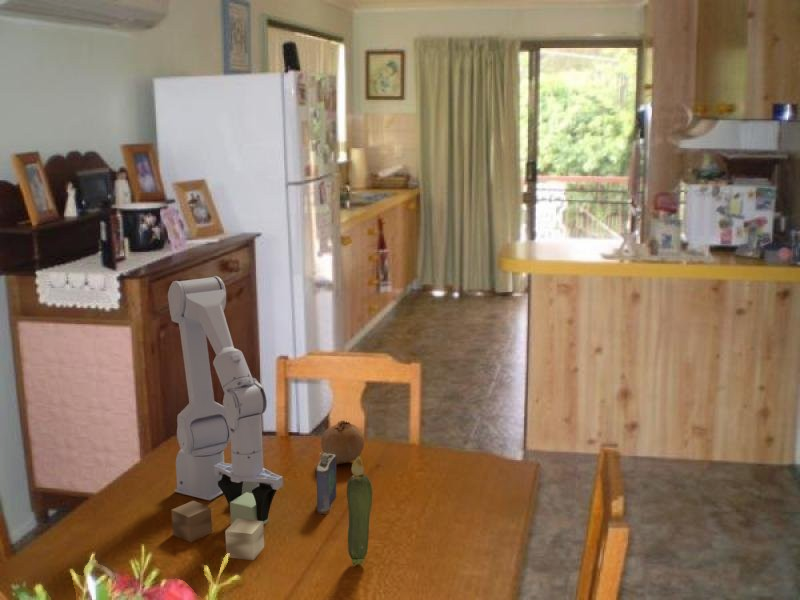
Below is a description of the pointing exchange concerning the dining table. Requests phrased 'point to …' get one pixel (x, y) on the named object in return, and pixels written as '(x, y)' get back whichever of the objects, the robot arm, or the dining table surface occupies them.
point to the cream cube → (245, 539)
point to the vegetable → (358, 512)
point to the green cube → (244, 508)
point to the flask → (326, 482)
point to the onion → (343, 442)
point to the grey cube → (248, 487)
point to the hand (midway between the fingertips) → (249, 516)
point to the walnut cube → (191, 521)
